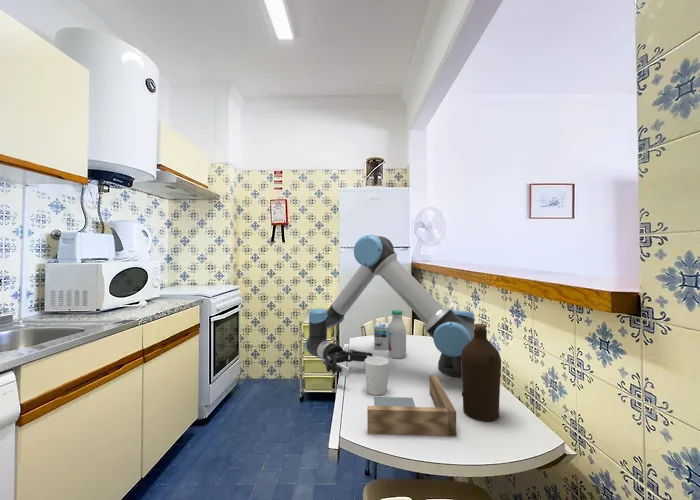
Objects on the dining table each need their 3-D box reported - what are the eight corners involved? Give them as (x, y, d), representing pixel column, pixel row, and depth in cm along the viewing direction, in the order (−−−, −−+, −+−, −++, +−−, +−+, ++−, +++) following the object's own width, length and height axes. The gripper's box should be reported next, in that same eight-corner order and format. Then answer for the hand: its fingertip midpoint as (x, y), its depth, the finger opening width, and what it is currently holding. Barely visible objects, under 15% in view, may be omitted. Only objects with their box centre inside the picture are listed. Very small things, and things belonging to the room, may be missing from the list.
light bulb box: (388, 350, 149) (388, 327, 149) (373, 349, 151) (373, 326, 151) (390, 343, 160) (390, 322, 160) (376, 343, 161) (376, 321, 161)
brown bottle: (507, 413, 90) (507, 324, 91) (491, 427, 83) (491, 331, 83) (471, 400, 98) (471, 319, 98) (453, 412, 91) (453, 324, 91)
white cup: (382, 398, 100) (382, 366, 100) (360, 392, 104) (360, 361, 104) (392, 389, 107) (392, 359, 107) (371, 384, 111) (371, 355, 111)
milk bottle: (408, 355, 142) (408, 310, 142) (401, 360, 135) (401, 312, 136) (392, 352, 146) (392, 308, 146) (385, 357, 140) (385, 311, 140)
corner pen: (435, 393, 103) (435, 374, 103) (456, 436, 79) (456, 411, 79) (367, 391, 105) (367, 373, 105) (367, 433, 81) (367, 409, 81)
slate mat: (412, 398, 100) (412, 397, 100) (418, 418, 88) (418, 417, 88) (373, 397, 100) (373, 396, 100) (374, 417, 88) (374, 416, 88)
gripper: (355, 356, 134) (390, 371, 117) (302, 369, 120) (334, 388, 102) (355, 338, 134) (390, 350, 117) (302, 348, 120) (334, 364, 103)
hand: (364, 368), depth 110 cm, fingers open, 13 cm apart
